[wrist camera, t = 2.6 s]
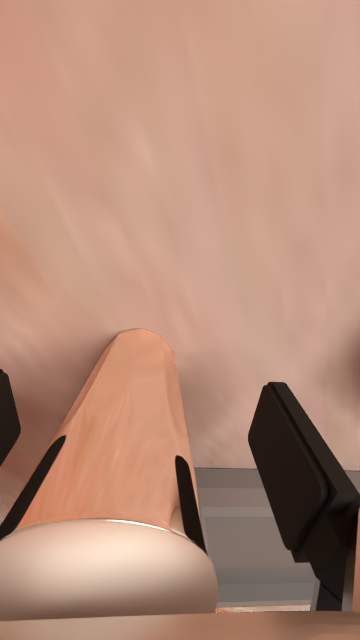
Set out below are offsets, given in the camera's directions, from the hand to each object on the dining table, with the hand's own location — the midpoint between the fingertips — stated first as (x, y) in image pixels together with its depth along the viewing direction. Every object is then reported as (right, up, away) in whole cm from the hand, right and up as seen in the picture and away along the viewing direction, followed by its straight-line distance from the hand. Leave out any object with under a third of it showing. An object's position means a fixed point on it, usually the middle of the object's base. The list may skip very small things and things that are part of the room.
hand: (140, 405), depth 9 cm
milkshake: (0, +1, +3) cm, 3 cm away
